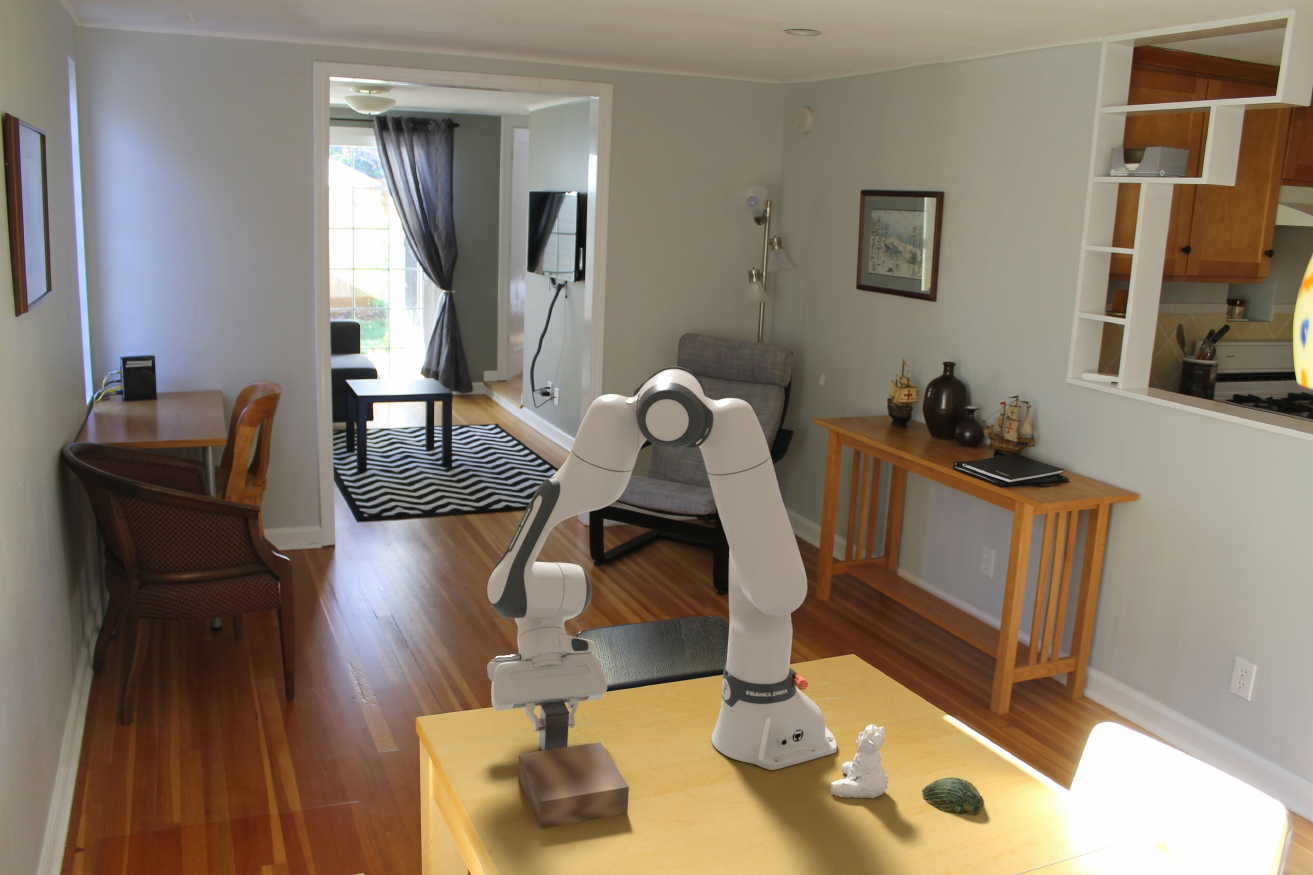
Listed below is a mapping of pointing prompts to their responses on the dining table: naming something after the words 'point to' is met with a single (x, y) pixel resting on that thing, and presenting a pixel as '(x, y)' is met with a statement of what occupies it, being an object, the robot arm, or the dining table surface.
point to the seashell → (953, 796)
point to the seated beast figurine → (864, 768)
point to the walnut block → (572, 784)
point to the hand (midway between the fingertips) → (554, 728)
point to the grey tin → (554, 725)
